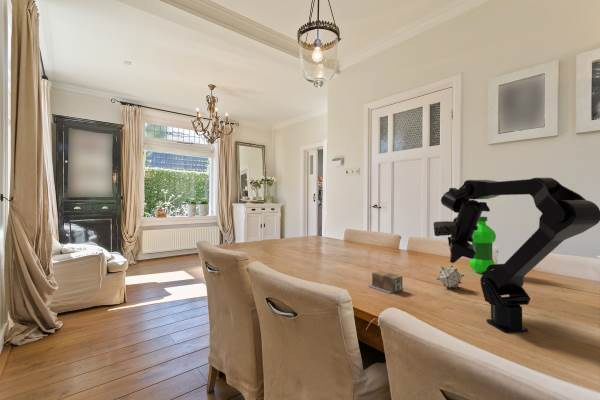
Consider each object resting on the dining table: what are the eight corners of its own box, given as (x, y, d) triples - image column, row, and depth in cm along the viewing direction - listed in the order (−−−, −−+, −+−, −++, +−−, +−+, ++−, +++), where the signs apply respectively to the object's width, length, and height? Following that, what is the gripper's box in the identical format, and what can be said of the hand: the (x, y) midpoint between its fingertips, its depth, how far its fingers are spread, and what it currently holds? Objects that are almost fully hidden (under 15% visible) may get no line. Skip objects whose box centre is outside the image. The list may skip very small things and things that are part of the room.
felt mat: (403, 289, 103) (403, 288, 103) (389, 293, 98) (389, 292, 98) (382, 282, 111) (382, 282, 111) (368, 286, 106) (368, 285, 106)
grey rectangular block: (402, 276, 101) (380, 270, 110) (393, 278, 98) (372, 272, 107) (402, 289, 101) (380, 283, 110) (393, 292, 98) (372, 285, 107)
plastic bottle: (495, 271, 126) (494, 216, 125) (496, 276, 117) (496, 217, 116) (469, 268, 131) (468, 215, 131) (469, 273, 122) (468, 217, 122)
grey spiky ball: (456, 299, 102) (470, 282, 96) (433, 289, 104) (446, 272, 98) (453, 281, 109) (467, 264, 103) (432, 273, 111) (444, 256, 105)
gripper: (438, 203, 95) (425, 242, 101) (440, 222, 79) (425, 268, 85) (474, 211, 92) (459, 252, 97) (484, 233, 75) (465, 280, 81)
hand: (451, 262), depth 90 cm, fingers closed
